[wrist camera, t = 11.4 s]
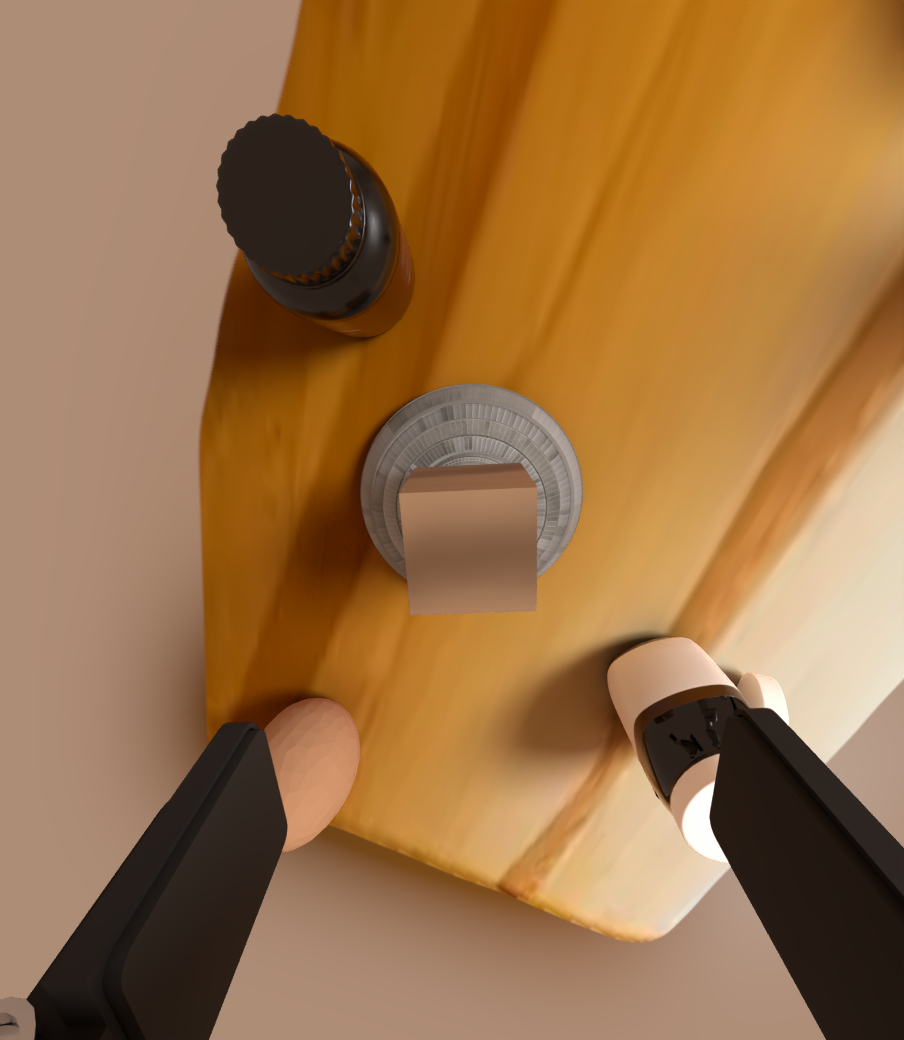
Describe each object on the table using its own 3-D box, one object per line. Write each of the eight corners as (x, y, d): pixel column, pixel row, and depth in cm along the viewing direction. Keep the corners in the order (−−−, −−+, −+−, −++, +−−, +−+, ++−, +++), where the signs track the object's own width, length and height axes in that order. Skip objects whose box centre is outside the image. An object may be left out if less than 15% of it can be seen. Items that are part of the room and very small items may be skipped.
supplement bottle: (335, 357, 27) (243, 338, 16) (285, 242, 25) (139, 129, 14) (435, 313, 26) (412, 261, 15) (390, 191, 24) (326, 25, 13)
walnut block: (414, 467, 24) (398, 493, 19) (520, 462, 24) (537, 487, 18) (422, 564, 26) (410, 615, 20) (521, 560, 26) (536, 611, 20)
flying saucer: (430, 620, 33) (423, 664, 28) (324, 451, 30) (294, 466, 24) (610, 536, 31) (639, 567, 26) (520, 339, 27) (533, 329, 22)
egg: (285, 744, 37) (216, 883, 27) (278, 670, 35) (199, 792, 24) (372, 748, 37) (336, 890, 27) (370, 675, 35) (331, 800, 24)
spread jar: (587, 645, 33) (648, 775, 22) (732, 592, 32) (877, 704, 21) (634, 755, 37) (708, 917, 26) (768, 712, 35) (910, 865, 24)
